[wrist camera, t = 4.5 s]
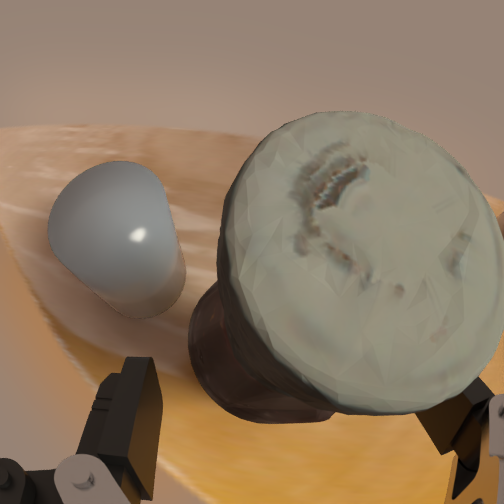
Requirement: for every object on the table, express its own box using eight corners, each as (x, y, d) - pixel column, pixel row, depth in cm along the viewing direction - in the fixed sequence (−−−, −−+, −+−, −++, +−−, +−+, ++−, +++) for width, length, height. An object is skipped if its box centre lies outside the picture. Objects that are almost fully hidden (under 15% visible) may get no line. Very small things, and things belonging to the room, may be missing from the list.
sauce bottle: (194, 334, 22) (83, 85, 4) (276, 307, 23) (400, 48, 5) (226, 421, 19) (212, 590, 1) (310, 389, 21) (583, 325, 3)
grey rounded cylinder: (186, 232, 25) (171, 156, 17) (186, 318, 22) (162, 272, 14) (105, 235, 25) (63, 167, 17) (97, 318, 22) (37, 274, 14)
